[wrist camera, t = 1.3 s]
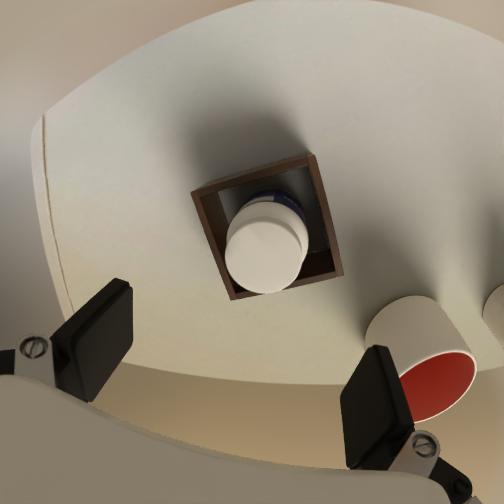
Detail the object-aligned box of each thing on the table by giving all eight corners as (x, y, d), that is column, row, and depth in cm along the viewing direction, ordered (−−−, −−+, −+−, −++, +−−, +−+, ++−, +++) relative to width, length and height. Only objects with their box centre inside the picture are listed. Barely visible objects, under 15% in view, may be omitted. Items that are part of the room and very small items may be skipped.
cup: (347, 351, 31) (358, 419, 22) (389, 279, 27) (422, 339, 18) (412, 366, 31) (434, 426, 22) (455, 303, 27) (494, 357, 18)
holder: (207, 182, 26) (189, 192, 22) (310, 152, 24) (315, 154, 19) (240, 275, 29) (230, 301, 25) (335, 252, 27) (344, 275, 22)
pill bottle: (314, 233, 27) (324, 284, 17) (258, 255, 28) (241, 313, 19) (289, 176, 25) (287, 197, 16) (231, 201, 27) (199, 236, 17)
